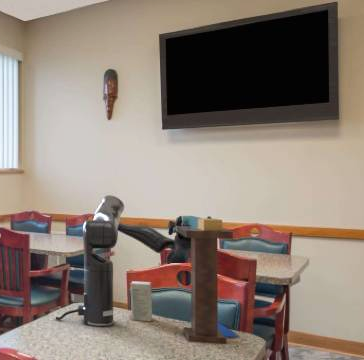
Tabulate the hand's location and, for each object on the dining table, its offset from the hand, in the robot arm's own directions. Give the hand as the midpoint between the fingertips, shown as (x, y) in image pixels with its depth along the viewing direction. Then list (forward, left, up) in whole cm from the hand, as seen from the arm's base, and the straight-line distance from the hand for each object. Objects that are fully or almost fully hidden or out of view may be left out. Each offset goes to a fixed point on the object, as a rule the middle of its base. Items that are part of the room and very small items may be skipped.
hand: (195, 218), depth 156 cm
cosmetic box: (-16, +4, -34) cm, 38 cm away
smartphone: (+5, -3, -35) cm, 35 cm away
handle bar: (0, -6, -2) cm, 7 cm away
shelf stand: (0, -12, -34) cm, 36 cm away
